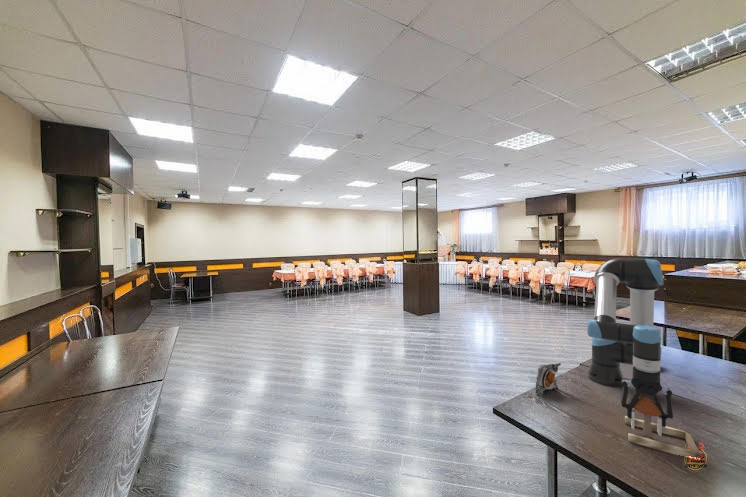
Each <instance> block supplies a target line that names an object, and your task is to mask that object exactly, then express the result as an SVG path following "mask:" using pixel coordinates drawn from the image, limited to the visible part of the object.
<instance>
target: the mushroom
mask: <svg viewBox="0 0 746 497" xmlns="http://www.w3.org/2000/svg"><path fill="white" fill-rule="evenodd" d="M633 409H634V411H636V412H638V413H640V414H642V415H643V421H644V425H643V428H642V435H643V437H644V438H648V439H652V440H653V436H654V435H653V434H654V433H653V431H652V427H651V423H652V417H658V416H660V415H662V414H661V412H660V410H659V409H658V407H657V405H656V403H655V401H654V399H652V398H651V397H650V396H647V395H646V396H645V395H644V396H641V397H639V398H638V400H637V401H636V403H635V405H634V407H633Z"/></svg>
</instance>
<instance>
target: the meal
mask: <svg viewBox="0 0 746 497" xmlns="http://www.w3.org/2000/svg"><path fill="white" fill-rule="evenodd" d="M561 364H562V363H546V364H542V365H539V367H538V368H537V375H536V378H535V379H536V381H535V394H536V393H537V394H539V395H540V397H541V396H542V397H541V398H543V397H544V393H543V391H544V389H546V390H553V389H559V386H558V384H557V379H556V373H558V371H559V367H560V366H561ZM538 386H539V387H538ZM544 392H545V391H544ZM542 393H543V394H542ZM537 394H536V395H537ZM539 395H538V396H539Z"/></svg>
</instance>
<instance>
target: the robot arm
mask: <svg viewBox="0 0 746 497" xmlns="http://www.w3.org/2000/svg"><path fill="white" fill-rule="evenodd" d="M663 275H664V274H663V272H662V266H661V263H660V261H659V260H657V259H651V258H650V259H649V258H618V257H617V258H612V259H610V260H607V261H605V262H603V264H601V265H600V266H599V267H598V268H597V270H596V271H595V274H594V278H593V279H594V280H593V281H594V283H595V284H596V286H595V301H594V311H593V313H594V314H593V315H594V316H593V319H588V320H587V325H586V326H587V331H586V332H587V335H588V336H589V337H590V338H592V340H591V364H590V366H589V368H588V371H587V377H588V378H589V379H590V380H592V381H593V382H596V383H597V384H602V385H604V386H610V387H622V394H621V401H620V404H621V407H622V408H625V409H626V414H627V415H626V416H627V417H628V418H630V419H631V425H630V426H631V429H632V430H635V426H634V418H635V409H634V408H633V407H634V405H635V403H636V401H637V400H638V399H639V398H640V396H641V395H646V396H647V395H648V397H652V398H653V401H654V402H655V403H656V405H657V407H658V409H659V410H660V412H661V414H662V415H660V416H657V423H656V424H657V432H656V433H657V434H658V436H659V437H662V435H663V433H662V427H666V426H667V419H670V420H672V419H673V418H674V414H673V407H672V398H671V397H672V395H673V392H672V389H671V388H670V387H663V386H662V385H661V360H662V359H661V358H662V346H661V341H662V335H661V330H660V329H659V328H657V327H654V319H655V318H654V317H655V316H654V315H655V314H654V313H655V311H654V310H655V292H656V291H658V290H659V288H660V286H663V285H664V276H663ZM620 283H622V284H625V286H626V288H627V289H629V323H623V322H622V323H620V322H617V287H618V285H619V284H620ZM621 364H624V365H629V366H633V367H632V378H631V379H630V380H627V379H625V377H624V376H623V371H622V370H621ZM631 385H632V386H633V387H634V388H635V389H634V391H633V393H632V396H631V397H630V399H629V401H628V395H629V394H628V393H629V387H631ZM661 391H662V394H664V401H665V409H666V412H664V409H663V407H662V405H661V403H660V400H659V397H658V395H657V394H659V392H661ZM627 401H628V403H627Z"/></svg>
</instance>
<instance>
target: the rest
mask: <svg viewBox="0 0 746 497" xmlns="http://www.w3.org/2000/svg"><path fill="white" fill-rule="evenodd" d="M624 424H625V425H630V426H631V419H630V418H628V416H627V415H624ZM643 425H644V419H639V418H636V417H634V427H638V428H641V429H643ZM651 427H652V432H656V433H658V432H657V423H655V422H651ZM662 434H665V435H668V436H673V437H675V438H676V437H677V438H680V439H683V440H685V441H686V444H687V446H688V447H690V448H689V449H687V448H684V447H681V446H678V445H677V446H676V445H673V444H669V443H665V442H661V441H660V440H659V441H658V440H654V439H653V438H652V439H649V438H646V437H644V436H641V435H640V436H639V435H638V434H633V433H629V432H628V438H627V439H628V442H629V443H633V444H637V445H640V446H644V447H647V448H651V449H655V450H658V451H660V452H661V451H662V452H665V453H669V454H672V455H676V456H679V455H680V456H679V457H682V456H691V457H698V458H701V459H702V454H701V452H700V450H699V448H698V446H697V444H696V443H695V441H694V439H693V437H692V435H691V433H690V431H687V430H684V429H683V430H682V429H678V428H675V427H670V426H667V425H666V427H662ZM690 449H691V450H690Z"/></svg>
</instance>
